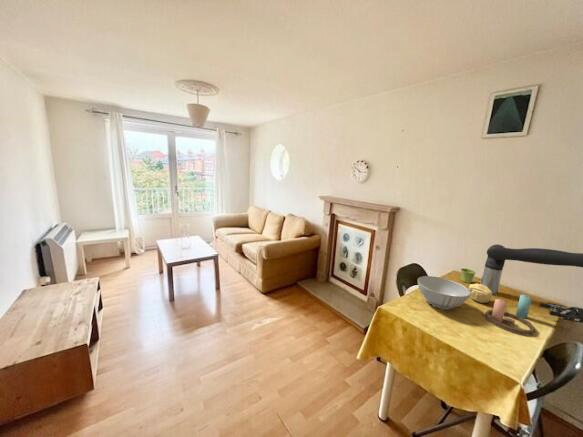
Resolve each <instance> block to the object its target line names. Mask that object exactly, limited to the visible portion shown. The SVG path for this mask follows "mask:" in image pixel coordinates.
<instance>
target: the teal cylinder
mask: <svg viewBox="0 0 583 437" xmlns="http://www.w3.org/2000/svg"><path fill="white" fill-rule="evenodd" d="M532 300H533V299H532V297H531V296H529V295H526V294H520V296H519V300H518V304H517V307H516V312H515V315H516V316H519V317H521V318H523V319H525V320H527V319H528V315H529V311H530V307H531V304H532Z"/></svg>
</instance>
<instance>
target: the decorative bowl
mask: <svg viewBox="0 0 583 437" xmlns="http://www.w3.org/2000/svg"><path fill="white" fill-rule="evenodd" d="M417 285H418V289H419V291H420V294H422V296H423V297H424V298H425V299H426V300H427V302H428V301H429V302H428V303H429V304H430V305H431V304H432V305H431V306H433V305H434V306H433V307H435V306H436V307H435V308H437V307H438V309H440V310H451V309H453V308H456V307H459V306H461V305H463V304H464V303H466V302H467V301H468V299H469V298H470V294H471V292H470V290H469V287H466V286H464V285H463V284H461V283H460V282H456V281H454V280H451V279H448V278H446V277H445V278H444V277H440V276H433V275H432V276H430V275H425V276H420V277H418V278H417Z"/></svg>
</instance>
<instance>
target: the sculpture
mask: <svg viewBox="0 0 583 437" xmlns="http://www.w3.org/2000/svg"><path fill="white" fill-rule="evenodd" d="M468 289H469V290H470V292H471V294H470V296H469V298H471V300H472V301H475V302H477V303H481V304H486V303H489V302H490V301H491V299H492V297H493V294H492V291H491V290H490V289H489V288H488V287H487V286H484V285H482V284H480V283H478V282H477V283H469V287H468Z"/></svg>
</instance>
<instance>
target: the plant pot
mask: <svg viewBox="0 0 583 437" xmlns="http://www.w3.org/2000/svg"><path fill="white" fill-rule="evenodd" d="M460 273H461V274H460V276H461V278H460V280H462V281H461V282H463V283H465V282H467V283H466V284H472V281H473V279H474V277H475V275H476V273H477V272H476V271H475V270H472V269H469V268H464V267H463V268H460Z"/></svg>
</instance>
